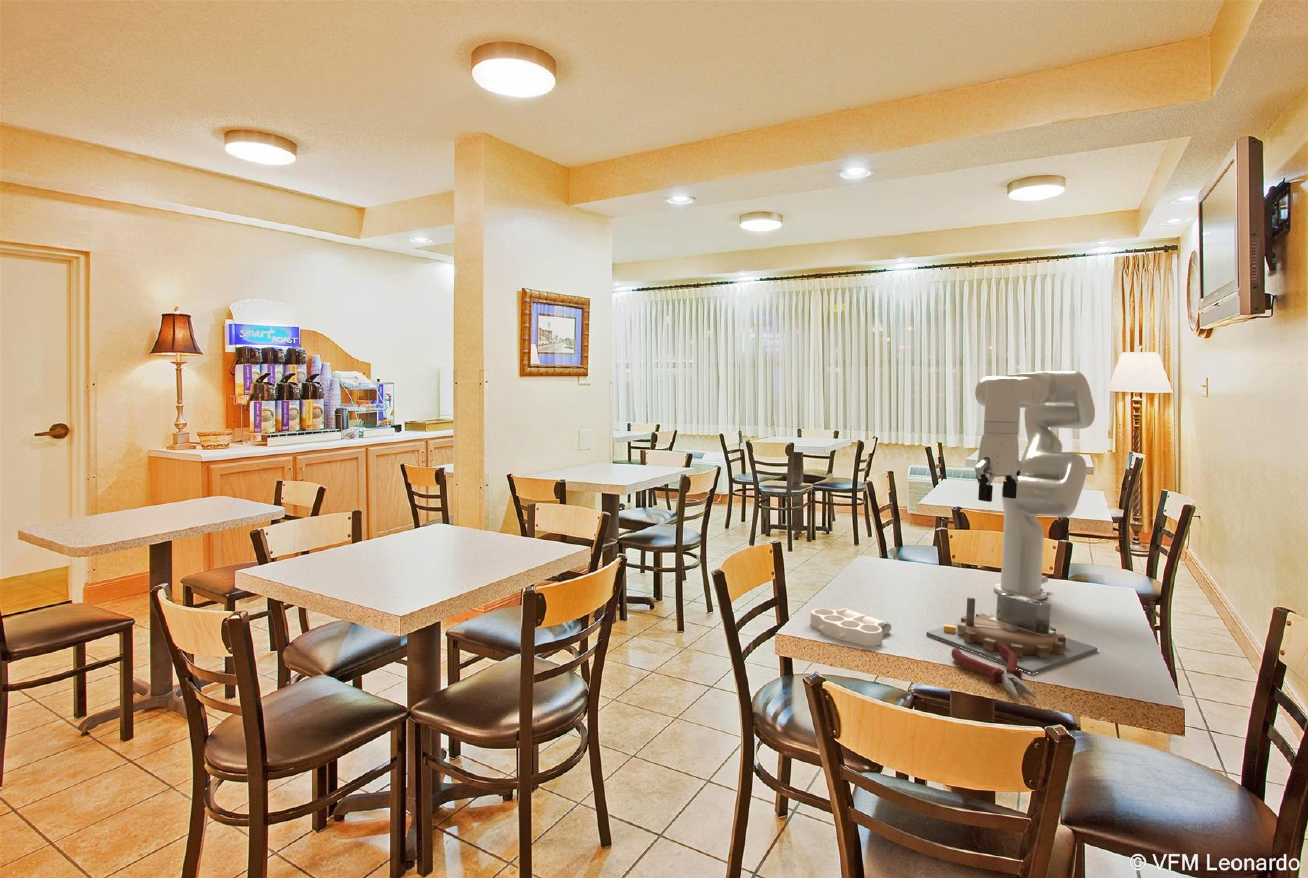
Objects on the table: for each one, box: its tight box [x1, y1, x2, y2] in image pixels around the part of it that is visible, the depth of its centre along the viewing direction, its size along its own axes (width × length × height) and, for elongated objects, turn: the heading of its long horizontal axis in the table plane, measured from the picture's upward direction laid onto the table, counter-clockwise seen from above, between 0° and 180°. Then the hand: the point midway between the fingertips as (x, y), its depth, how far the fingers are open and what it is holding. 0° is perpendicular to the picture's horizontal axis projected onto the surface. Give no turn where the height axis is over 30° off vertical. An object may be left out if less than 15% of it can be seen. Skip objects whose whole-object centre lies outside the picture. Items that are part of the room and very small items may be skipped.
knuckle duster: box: [810, 608, 892, 647], centre depth 156 cm, size 3×18×15 cm
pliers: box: [950, 645, 1037, 700], centre depth 131 cm, size 12×20×3 cm, turn 178°
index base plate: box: [925, 613, 1098, 674], centre depth 150 cm, size 24×24×2 cm
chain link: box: [995, 592, 1052, 634], centre depth 152 cm, size 3×11×6 cm, turn 32°
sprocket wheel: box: [957, 596, 1067, 658], centre depth 150 cm, size 21×21×8 cm
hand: (997, 499), depth 167 cm, fingers open, 9 cm apart
